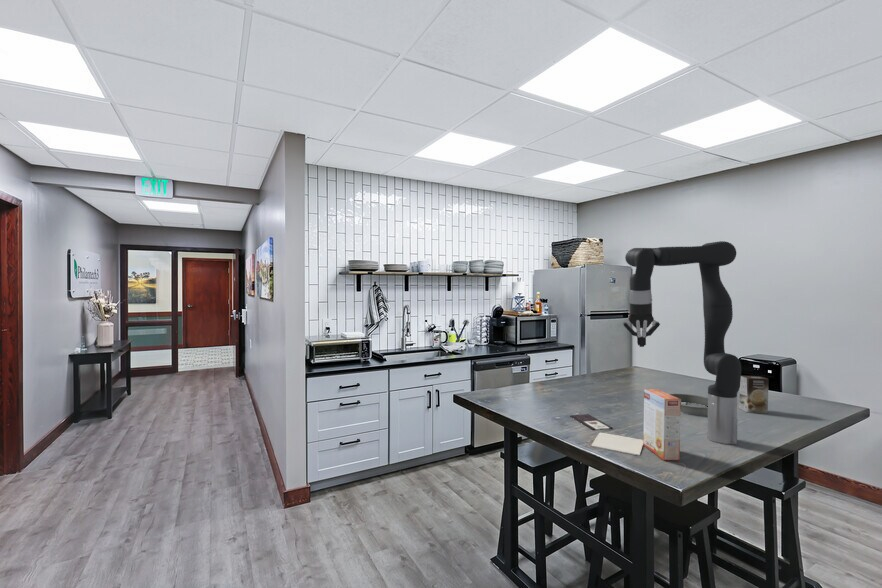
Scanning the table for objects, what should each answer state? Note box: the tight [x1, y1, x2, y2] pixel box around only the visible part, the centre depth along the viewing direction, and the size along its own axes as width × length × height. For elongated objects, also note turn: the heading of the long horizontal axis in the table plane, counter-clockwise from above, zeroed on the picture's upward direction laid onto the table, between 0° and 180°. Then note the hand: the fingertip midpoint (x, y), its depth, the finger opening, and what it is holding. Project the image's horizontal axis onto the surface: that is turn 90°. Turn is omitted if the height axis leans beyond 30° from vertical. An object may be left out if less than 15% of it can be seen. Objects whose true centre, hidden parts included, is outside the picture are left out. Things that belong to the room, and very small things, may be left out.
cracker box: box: [642, 388, 682, 461], centre depth 145 cm, size 14×6×21 cm, turn 0°
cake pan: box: [669, 393, 708, 416], centre depth 199 cm, size 25×25×4 cm
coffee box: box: [738, 375, 770, 414], centre depth 195 cm, size 9×6×16 cm
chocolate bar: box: [569, 413, 613, 431], centre depth 178 cm, size 9×1×18 cm
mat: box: [590, 431, 644, 457], centre depth 154 cm, size 16×16×1 cm
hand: (641, 346), depth 157 cm, fingers closed
